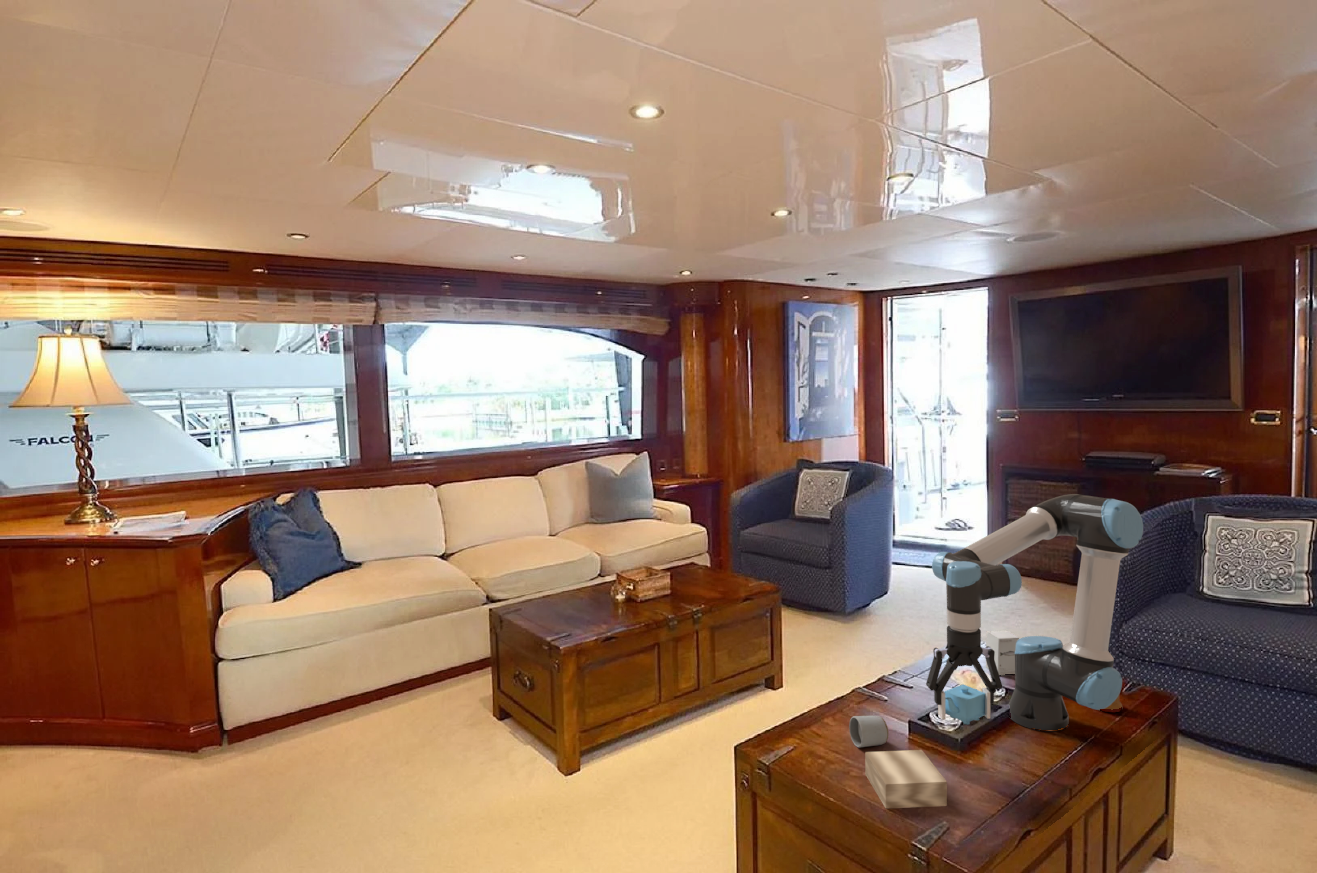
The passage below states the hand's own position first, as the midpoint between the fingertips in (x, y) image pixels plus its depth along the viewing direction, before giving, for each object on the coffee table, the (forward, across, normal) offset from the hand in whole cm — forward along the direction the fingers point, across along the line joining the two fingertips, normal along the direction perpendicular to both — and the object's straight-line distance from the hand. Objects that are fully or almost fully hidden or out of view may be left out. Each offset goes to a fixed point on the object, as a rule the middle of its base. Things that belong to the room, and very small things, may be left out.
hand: (964, 716), depth 170 cm
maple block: (+15, +16, +6) cm, 23 cm away
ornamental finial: (+16, -54, -34) cm, 66 cm away
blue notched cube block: (+1, 0, 0) cm, 1 cm away
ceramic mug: (+15, +20, -16) cm, 29 cm away
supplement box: (+16, -36, -61) cm, 73 cm away
